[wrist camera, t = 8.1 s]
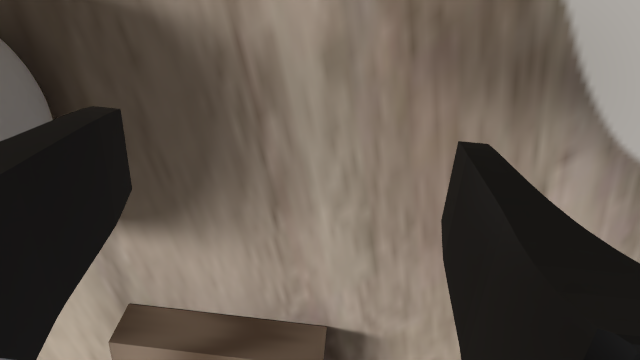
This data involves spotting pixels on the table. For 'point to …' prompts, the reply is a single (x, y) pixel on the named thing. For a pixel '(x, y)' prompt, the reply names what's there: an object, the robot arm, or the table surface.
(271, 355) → the walnut plinth
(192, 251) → the table surface
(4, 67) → the teacup
